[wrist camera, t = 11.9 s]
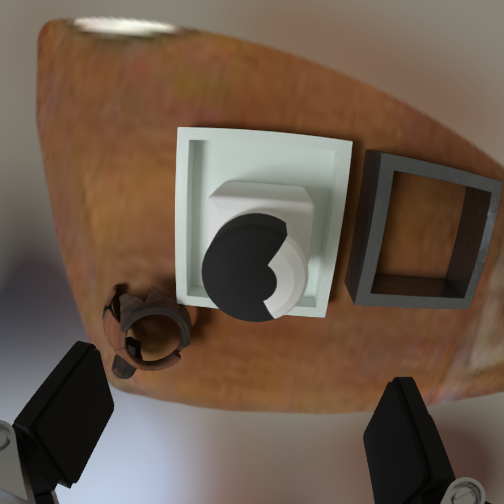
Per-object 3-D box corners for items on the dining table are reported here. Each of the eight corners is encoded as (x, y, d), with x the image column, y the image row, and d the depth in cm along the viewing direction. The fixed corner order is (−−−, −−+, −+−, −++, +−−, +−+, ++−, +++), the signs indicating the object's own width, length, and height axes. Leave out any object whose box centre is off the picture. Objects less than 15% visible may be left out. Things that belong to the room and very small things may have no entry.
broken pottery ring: (114, 256, 32) (121, 287, 25) (190, 281, 37) (215, 313, 30) (87, 347, 33) (90, 392, 26) (157, 362, 38) (174, 404, 31)
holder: (477, 174, 26) (502, 182, 22) (450, 289, 30) (468, 309, 26) (365, 149, 26) (381, 152, 22) (344, 282, 31) (354, 304, 27)
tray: (344, 140, 26) (352, 141, 23) (320, 302, 32) (324, 317, 29) (186, 127, 26) (178, 127, 24) (184, 290, 32) (176, 303, 30)
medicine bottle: (220, 256, 30) (190, 330, 19) (222, 180, 27) (188, 213, 16) (297, 262, 30) (310, 340, 18) (305, 186, 27) (328, 223, 16)
